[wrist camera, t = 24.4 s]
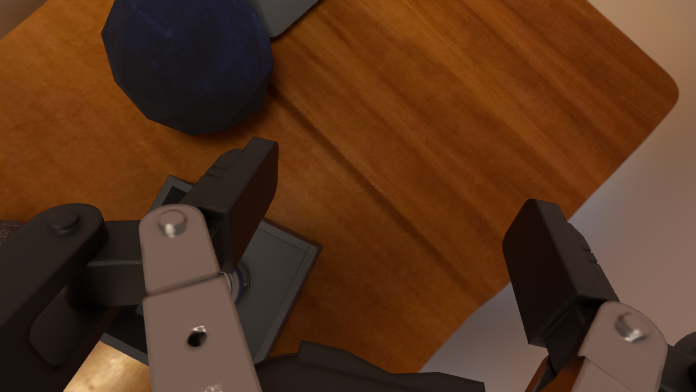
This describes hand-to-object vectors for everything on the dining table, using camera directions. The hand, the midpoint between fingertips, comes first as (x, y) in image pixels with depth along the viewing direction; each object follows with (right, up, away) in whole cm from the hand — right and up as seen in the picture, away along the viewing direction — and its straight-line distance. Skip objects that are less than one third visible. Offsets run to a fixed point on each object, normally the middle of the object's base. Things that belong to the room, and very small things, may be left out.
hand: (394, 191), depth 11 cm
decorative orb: (-16, +12, +29) cm, 36 cm away
